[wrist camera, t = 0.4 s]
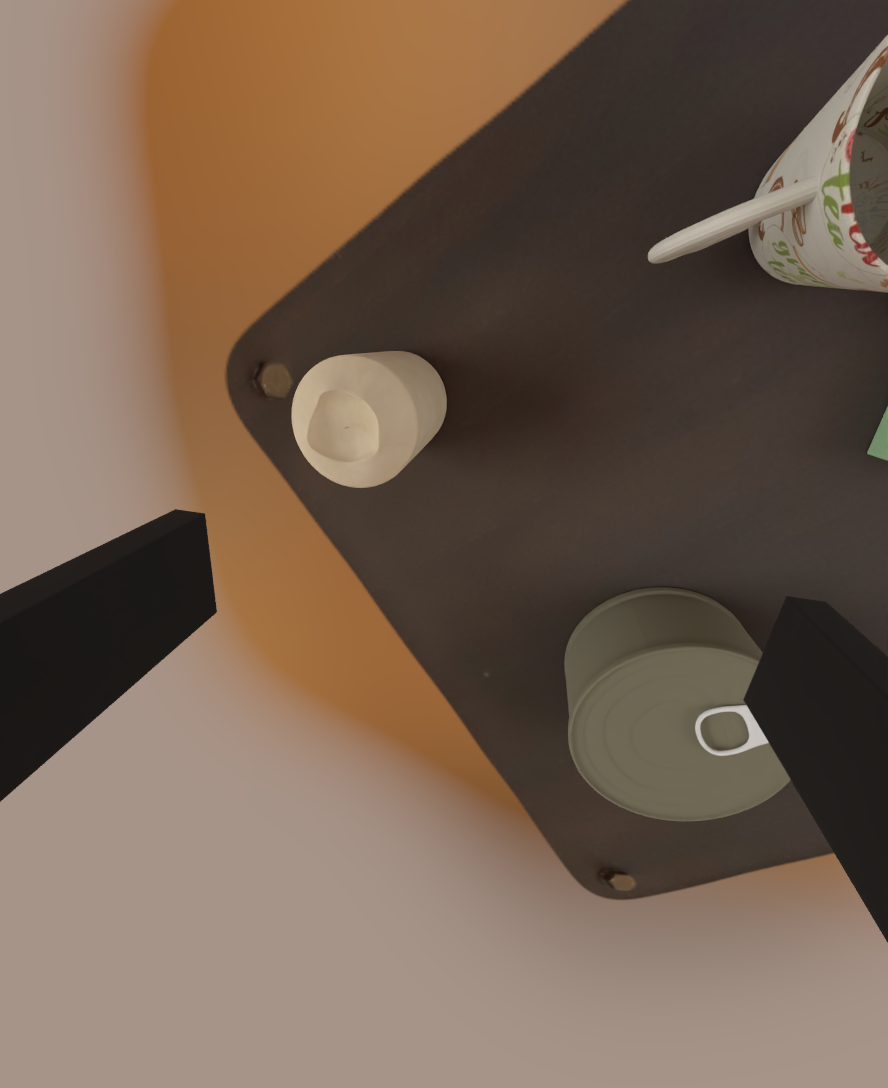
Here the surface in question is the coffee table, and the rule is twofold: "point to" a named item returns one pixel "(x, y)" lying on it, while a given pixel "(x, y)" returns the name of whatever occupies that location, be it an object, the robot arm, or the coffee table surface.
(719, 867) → the coffee table surface
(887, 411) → the foam pad
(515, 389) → the coffee table surface
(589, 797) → the coffee table surface
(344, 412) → the candle
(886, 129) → the mug
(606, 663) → the can
